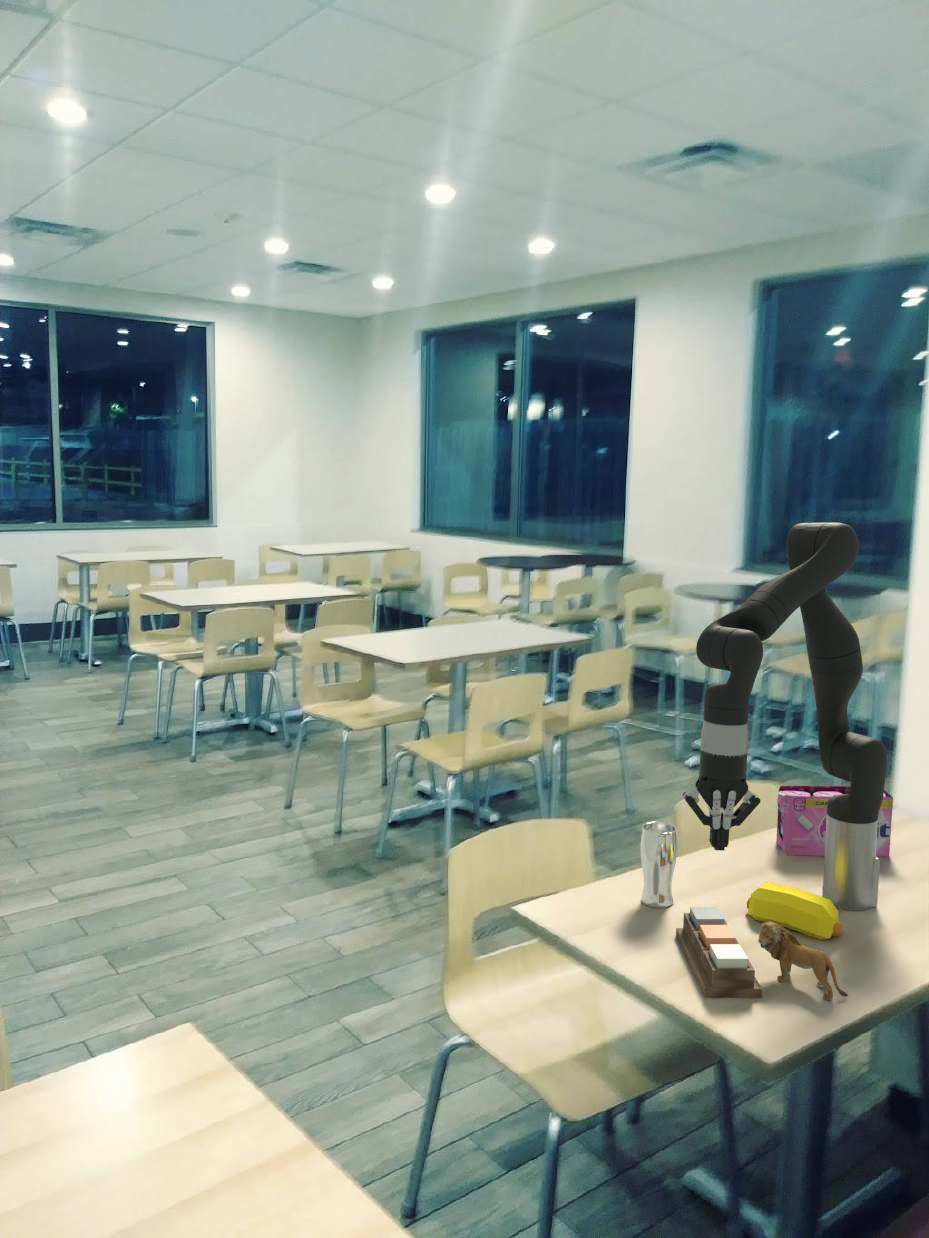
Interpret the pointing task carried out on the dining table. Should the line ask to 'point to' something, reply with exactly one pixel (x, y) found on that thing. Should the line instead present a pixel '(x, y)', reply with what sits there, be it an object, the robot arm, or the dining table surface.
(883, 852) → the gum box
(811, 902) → the ripe banana
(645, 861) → the beer glass
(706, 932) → the terracotta button
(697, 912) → the slate button
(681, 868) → the dining table surface
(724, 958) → the ivory button
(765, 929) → the lion figurine
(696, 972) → the button board
